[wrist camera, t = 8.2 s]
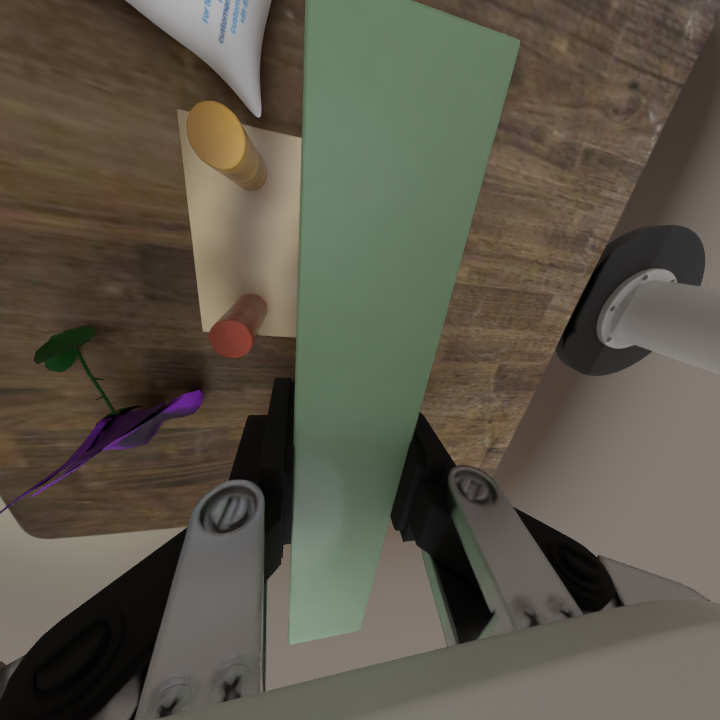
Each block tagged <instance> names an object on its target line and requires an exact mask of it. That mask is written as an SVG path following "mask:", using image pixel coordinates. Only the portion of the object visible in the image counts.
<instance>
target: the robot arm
mask: <svg viewBox="0 0 720 720" xmlns="http://www.w3.org/2000/svg"><path fill="white" fill-rule="evenodd" d="M596 331H597V336H598V338H599V340H600V341H601V342H602V344H604V345H606V346H609V347H612V348H616V349H621V348H627V347H630V346H633V345H636V346H639V347H642V348H645V349H648V350H651V351H654V352H657V353H659V354H662V355H665V356H668V357H671V358H674V359H676V360H679V361H682V362H685V363H688V364H691V365H694V366H697V367H699V368H702V369H705V370H708V371H711V372H714V373H717V374H720V289H716V288H709V287H702V286H695V285H688V284H681V283H677V280H676V278H675V276H674V274H672V273H671V272H670V271H668V270H665V269H657V268H652V269H646V270H643V271H640V272H638V273H636V274H634V275H632V276H631V277H629V278H628V279H626V280H625V281H624V282H623V283H621V284H620V285H619V286H618V287H617V288H616V289H615V290H614V291H613V292H612V293H611V295H610V296H609V297H608V299H607V300H606V302H605V303H604V305H603V307H602V309H601V311H600V314H599V316H598V320H597V327H596ZM294 402H295V382H291V378H275V380H274V385H273V391H272V396H271V401H270V406H269V412H268V415H249V416H248V418H247V421H246V424H245V427H244V431H243V434H242V437H241V441H240V444H239V448H238V451H237V454H236V458H235V461H234V464H233V468H232V471H231V474H230V478H229V481H227V482H223V483H221V484H219V485H217V486H215V487H213V488H212V489H210V490H209V491H208V492H206V493H205V494H204V495H203V496H202V497H201V498H200V500H199V501H198V502H197V503H196V505H195V507H194V509H193V512H192V514H191V517H190V521H189V525H188V527H187V528H186V529H184V530H183V531H182V532H180V533H179V534H178V535H176V536H175V537H174V538H172V539H171V540H169V541H168V542H167V543H165V544H164V545H163V546H161V547H160V548H158V549H157V550H156V551H154V552H153V553H152V554H150V555H149V556H148V557H146V558H145V559H143V560H142V561H141V562H139V563H138V564H137V565H135V566H134V567H133V568H131V569H130V570H129V571H127V572H126V573H124V574H123V575H122V576H120V577H119V578H118V579H116V580H115V581H114V582H112V583H111V584H109V585H108V586H107V587H105V588H104V589H103V590H101V591H100V592H99V593H97V594H96V595H94V596H93V597H92V598H90V599H89V600H88V601H86V602H85V603H84V604H82V605H81V606H80V607H78V608H77V609H76V610H74V611H73V612H71V613H70V614H69V615H67V616H66V617H65V618H63V619H62V620H61V621H59V622H58V623H57V624H56V625H55V626H54V627H52V628H51V629H50V630H49V631H48V632H46V633H45V634H44V635H43V636H42V637H41V638H40V639H39V640H38V641H37V642H36V644H35V645H34V646H33V647H32V648H31V649H30V650H29V651H28V653H27V654H26V655H24V656H22V657H21V658H19V659H17V660H15V661H14V662H12V663H10V664H8V665H5V664H4V663H3V662H2V661H1V662H0V720H720V604H718V603H714V602H711V601H710V600H709V599H707V598H705V597H704V596H703V595H701V594H700V593H698V592H697V591H695V590H693V589H691V588H689V587H687V586H685V585H683V584H681V583H678V582H675V581H672V580H669V579H667V578H664V577H661V576H658V575H655V574H652V573H649V572H646V571H643V570H641V569H638V568H635V567H632V566H629V565H626V564H624V563H620V562H618V561H615V560H612V559H609V558H606V557H603V556H601V555H598V556H597V557H596V556H595V555H594V554H592V553H591V552H590V551H589V550H588V549H587V548H585V547H584V546H583V545H581V544H580V543H578V542H576V541H575V540H573V539H571V538H570V537H568V536H566V535H564V534H562V533H560V532H559V531H557V530H555V529H553V528H551V527H549V526H548V525H545V524H544V523H542V522H540V521H538V520H536V519H535V518H533V517H531V516H529V515H527V514H525V513H524V512H522V511H520V510H518V509H516V508H514V507H513V506H512V505H511V503H510V502H509V500H508V499H507V497H506V496H505V495H504V493H503V491H502V490H501V488H500V487H499V485H498V484H497V483H496V482H495V481H494V479H493V478H491V477H490V476H489V475H488V474H487V473H485V472H483V471H481V470H480V469H478V468H475V467H472V466H467V465H458V466H456V465H455V463H454V462H453V460H452V459H451V457H450V455H449V454H448V452H447V451H446V449H445V448H444V446H443V445H442V443H441V442H440V440H439V438H438V437H437V435H436V434H435V432H434V431H433V429H432V428H431V426H430V425H429V423H428V421H427V420H426V418H425V417H424V416H423V414H421V413H420V412H419V415H418V419H417V423H416V426H415V430H414V434H413V437H412V441H411V442H410V445H409V449H408V452H407V456H406V460H405V463H404V467H403V471H402V474H401V478H400V482H399V485H398V489H397V493H396V496H395V500H394V504H393V507H392V511H391V515H390V517H391V520H392V523H393V526H394V529H395V530H396V531H398V530H400V533H401V536H402V539H403V542H406V541H413V540H415V542H416V545H417V546H418V547H420V548H421V550H422V556H423V560H424V563H425V567H426V571H427V574H428V578H429V582H430V585H431V589H432V593H433V596H434V600H435V603H436V607H437V611H438V614H439V618H440V622H441V625H442V629H443V633H444V636H445V640H446V643H447V647H446V648H442V649H437V650H433V651H429V652H425V653H421V654H417V655H413V656H408V657H405V658H401V659H396V660H392V661H388V662H384V663H380V664H375V665H371V666H367V667H363V668H359V669H355V670H351V671H347V672H343V673H339V674H335V675H331V676H327V677H322V678H318V679H314V680H310V681H306V682H302V683H298V684H294V685H290V686H286V687H283V688H279V689H274V690H270V691H266V653H267V580H268V578H269V577H270V576H271V575H272V574H273V573H274V572H275V571H276V569H277V568H278V567H279V566H280V565H281V558H283V545H285V544H291V531H292V501H293V468H294V445H293V439H294Z"/></svg>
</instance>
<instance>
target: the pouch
mask: <svg viewBox="0 0 720 720" xmlns="http://www.w3.org/2000/svg"><path fill="white" fill-rule="evenodd" d="M126 1H127V2H128V3H129V4H131V5H132V6H133V7H134V8H136V9H137V10H138V11H139V12H140V13H142V14H143V15H144V16H145V17H147V18H148V19H149V20H150V21H152V22H153V23H154V24H155V25H157V26H158V27H159V28H161V29H162V30H163V31H164V32H166V33H167V34H168V35H170V36H171V37H173V38H174V39H175V40H177V41H178V42H179V43H181V44H182V45H184V46H185V47H186V48H188V49H189V50H191V51H192V52H193V53H194V54H196V55H197V56H198V57H199V58H201V59H202V60H203V61H204V62H205V63H207V64H208V65H209V66H210V67H211V68H212V69H213V70H214V71H215V72H216V73H217V74H218V75H219V76H220V77H221V78H222V79H223V80H224V81H225V82H226V83H227V84H228V85H229V86H230V87H231V88H232V89H233V91H234V92H235V93H236V94H237V95H238V97H239V98H240V99H241V100H242V101H243V103H244V104H245V105H246V106H247V108H248V109H249V110H250V111H251V112H252V113H253V114H254V115H255V116H256V117H258V118H260V116H261V93H260V58H261V48H262V41H263V35H264V30H265V25H266V21H267V17H268V13H269V9H270V5H271V1H272V0H126Z"/></svg>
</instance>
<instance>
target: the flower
mask: <svg viewBox="0 0 720 720" xmlns="http://www.w3.org/2000/svg"><path fill="white" fill-rule="evenodd" d="M95 335H96V331H95V328H90V327H80V328H76V329H72V330H69V331H65V332H63V333H61V334H57V335H54V336H52V337H51V338H50V339H49V341H48V342H46V343H45V344H44V345H43V346H42V347H41V348H39V349H38V350H37V351H36V352H35V357H34V362H36V363H37V364H40V363H42V362H45V366H46V368H47V369H49V370H50V371H57V372H63V371H65V370H67V369H69V368H70V367H71V366H72V364H73V363H74V361H75V359H76V354H77V356H78V358H79V359H80V361H81V363H82V365H83V367H84V369H85V371H86V372H87V374H88V376H89V377H90V379H91V380H92V382H93V383H94V384H95V386H96V387H97V389H98V390H99V392H100V393H101V395H102V397H103V398H104V400H105V401H106V403H107V405H108V406H109V408H110V410H111V411H112V412H111V413H109V414H108V415H106V416H105V417H104V418H103V419H101V420H100V421H99V422H98V423H97V424H96V427H95V428H94V429H93V431H92V432H91V434H90V435H89V436H88V438H87V439H86V440H85V442H84V443H83V444H82V445H81V446H80V447H79V448H78V450H77V451H76V452H75V453H74V454H73V455H72V456H71V457H70V458H69V460H68V461H67V462H66V463H65V464H63V465H62V466H61V467H60V468H58V469H57V470H56V471H55V472H53V473H52V474H50V475H49V476H48V477H46V478H45V479H43V480H42V481H40V482H39V483H38V484H36V485H35V486H33V487H32V488H30V489H29V490H28V491H26V492H25V493H23V494H22V495H20V496H19V497H18V498H16V499H15V500H14V501H13V502H11V503H10V504H9V505H8V506H6V507H5V508H4V509H3V510H2V511H0V513H2V512H3V511H4V510H6V509H7V508H8V507H10V506H11V505H12V504H14V503H15V502H16V501H18V500H19V499H21V498H22V497H24V496H25V495H27V494H28V493H30V492H32V491H33V490H35V489H36V488H38V487H39V486H41V485H43V484H44V483H46V482H47V481H48V480H50V479H51V478H52V477H54V476H55V475H56V474H58V473H59V472H60V471H62V470H64V469H65V468H67V467H68V466H69V465H70V464H72V463H73V462H74V461H75V462H74V463H73V464H72V465H71V466H70V467H69V468H68V469H67V470H66V471H65V472H67V471H68V472H67V473H66V474H65V475H63V476H62V477H60V478H59V479H57V480H55V481H53V482H52V483H50V484H48V485H46V486H45V487H43V488H42V489H40V490H39V491H37V492H36V493H35V494H33V495H32V496H31V497H33V496H36V495H37V494H39V493H40V492H42V491H43V490H45V489H46V488H48V487H49V486H51V485H53V484H54V483H56V482H58V481H59V480H61V479H62V478H64V477H66V476H67V475H69V474H70V473H72V472H74V471H75V470H76V469H78V468H79V467H81V466H82V465H84V464H85V463H86V462H87V461H88V460H89V459H90V458H92V457H93V456H95V455H96V454H98V453H99V452H101V451H102V450H107V449H127V448H132V447H136V446H141V445H145V444H147V443H148V442H149V441H150V440H151V439H152V437H153V436H154V435H155V434H156V432H157V431H158V429H159V427H160V426H161V424H162V422H163V421H166V420H169V419H172V418H179V417H184V416H188V415H191V414H194V412H195V411H196V410H197V409H198V408H199V407H200V406H201V404H202V400H203V393H202V390H201V391H200V390H197V391H194V392H190V393H186V394H183V395H181V396H180V397H178V398H176V399H174V400H172V401H171V402H169V403H168V404H166V405H165V406H164V404H165V403H166V402H164V403H162V404H160V405H158V406H156V407H154V408H152V409H144V410H136V411H131V410H132V409H135V408H138V407H141V406H132V407H126V408H122V409H118V410H116V411H115V410H114V408H113V406H112V405H111V403H110V401H109V400H108V398H107V397H106V395H105V393H104V392H103V390H102V389H101V387H100V386H99V384H98V383H97V381H96V380H105V379H99V378H94V377H93V375H92V374H91V372H90V371H89V369H88V367H87V365H86V363H85V361H84V360H83V358H82V356H81V354H80V352H79V351H78V349H77V347H79V346H81V345H83V344H85V343H87V342H88V341H90V340H91V339H92V338H93V337H94V336H95ZM95 379H96V380H95ZM102 397H100V398H102ZM100 398H98V399H100ZM98 399H96V400H98ZM162 406H164V407H163V408H161V409H160V410H159V411H158V412H156V413H153V412H154V411H155V410H157V409H158V408H159V407H162ZM85 452H86V453H85ZM82 454H83V455H82ZM81 455H82V456H81ZM80 456H81V457H80ZM79 457H80V458H79ZM78 458H79V459H78ZM77 459H78V460H77ZM70 469H71V470H70ZM69 470H70V471H69ZM65 472H64V473H65ZM64 473H62V474H64ZM62 474H61V475H62ZM61 475H60V476H61Z"/></svg>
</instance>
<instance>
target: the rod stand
mask: <svg viewBox="0 0 720 720" xmlns="http://www.w3.org/2000/svg"><path fill="white" fill-rule="evenodd" d="M177 115H178V124H179V133H180V141H181V150H182V158H183V167H184V175H185V184H186V193H187V201H188V210H189V218H190V227H191V235H192V244H193V253H194V261H195V270H196V278H197V287H198V295H199V304H200V313H201V321H202V330H203V332H209V341H210V344H211V346H212V347H213V349H214V350H215V351H216V352H218V353H219V354H221V355H223V356H225V357H230V358H237V357H241V356H243V355H245V354H247V353H248V352H249V351H250V349H251V347H252V345H253V343H254V341H255V339H256V336H257V335H264V336H279V337H295V338H296V328H297V291H298V254H299V217H300V180H301V143H302V138H300V137H295V136H291V135H287V134H282V133H278V132H274V131H270V130H265V129H261V128H257V127H253V126H248V125H244V124H241V123H240V121H239V120H238V118H237V117H236V116H235V114H234V113H233V112H232V111H231V110H230V109H228V108H227V107H226V106H224V105H223V104H220V103H218V102H215V101H202V102H199V103H198V104H196V105H195V106H194V107H193V108H192V109H191V111H190V112H189V111H184V110H180V109H177Z"/></svg>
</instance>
